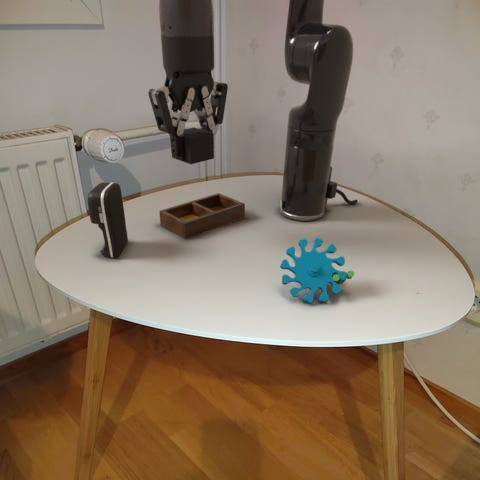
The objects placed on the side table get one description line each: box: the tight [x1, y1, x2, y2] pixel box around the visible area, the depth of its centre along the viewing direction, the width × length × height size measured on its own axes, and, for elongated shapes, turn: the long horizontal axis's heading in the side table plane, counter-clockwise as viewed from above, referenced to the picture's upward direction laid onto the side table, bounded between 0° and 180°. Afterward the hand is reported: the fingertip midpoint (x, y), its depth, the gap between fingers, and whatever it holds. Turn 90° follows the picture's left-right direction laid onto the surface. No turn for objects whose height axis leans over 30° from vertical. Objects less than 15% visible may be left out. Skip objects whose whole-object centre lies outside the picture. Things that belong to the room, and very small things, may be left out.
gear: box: [279, 237, 355, 304], centre depth 64 cm, size 11×6×10 cm
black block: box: [171, 127, 215, 165], centre depth 68 cm, size 5×5×4 cm
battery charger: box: [87, 181, 129, 259], centre depth 71 cm, size 7×4×11 cm, turn 175°
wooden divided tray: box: [159, 192, 246, 240], centre depth 84 cm, size 8×15×3 cm, turn 133°
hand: (193, 155), depth 69 cm, fingers closed on black block, 5 cm apart
